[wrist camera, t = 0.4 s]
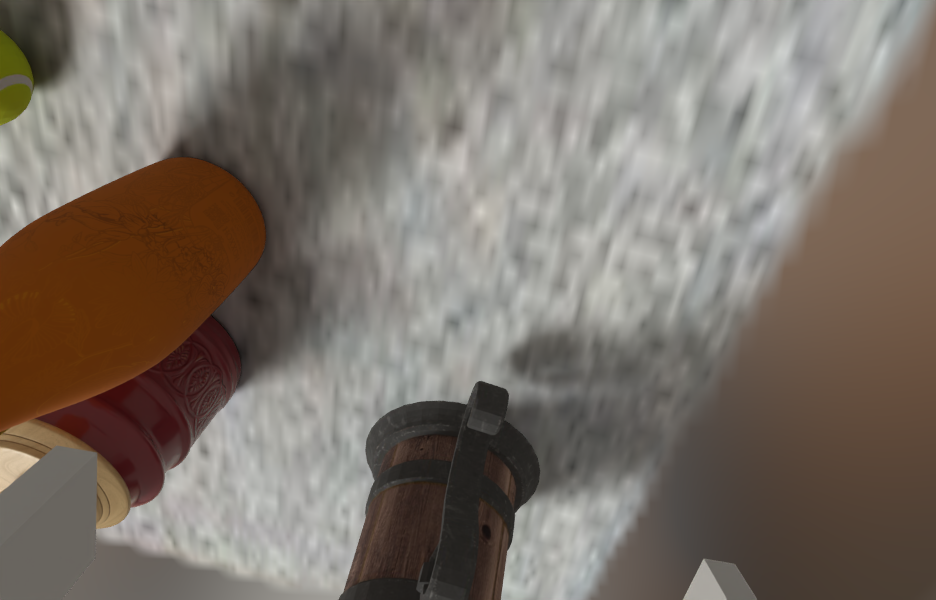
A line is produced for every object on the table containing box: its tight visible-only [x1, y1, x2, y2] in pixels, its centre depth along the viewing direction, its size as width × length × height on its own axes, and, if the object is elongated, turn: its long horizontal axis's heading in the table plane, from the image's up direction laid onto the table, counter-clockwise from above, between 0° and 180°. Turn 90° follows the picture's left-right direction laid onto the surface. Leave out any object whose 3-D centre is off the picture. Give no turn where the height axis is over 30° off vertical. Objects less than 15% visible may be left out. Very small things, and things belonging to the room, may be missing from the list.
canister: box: [0, 316, 241, 529], centre depth 39 cm, size 13×13×18 cm
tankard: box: [339, 381, 540, 600], centre depth 40 cm, size 24×17×20 cm
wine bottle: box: [0, 157, 266, 435], centre depth 26 cm, size 10×10×30 cm
